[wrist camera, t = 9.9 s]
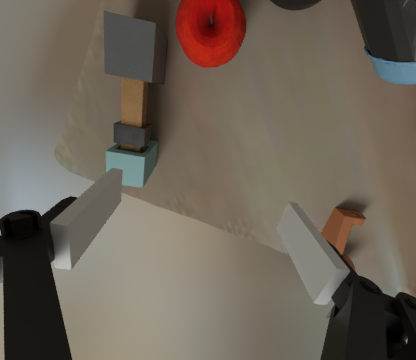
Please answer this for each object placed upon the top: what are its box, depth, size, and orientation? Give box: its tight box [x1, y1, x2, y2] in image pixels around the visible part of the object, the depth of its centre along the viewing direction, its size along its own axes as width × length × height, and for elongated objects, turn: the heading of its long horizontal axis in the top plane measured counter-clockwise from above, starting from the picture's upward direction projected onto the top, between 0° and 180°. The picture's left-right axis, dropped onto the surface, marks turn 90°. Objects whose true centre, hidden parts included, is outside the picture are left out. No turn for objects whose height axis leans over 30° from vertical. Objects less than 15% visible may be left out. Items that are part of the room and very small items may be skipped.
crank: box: [321, 208, 366, 271], centre depth 52 cm, size 20×8×8 cm, turn 168°
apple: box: [176, 0, 246, 67], centre depth 30 cm, size 10×10×12 cm
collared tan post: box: [114, 77, 152, 153], centre depth 34 cm, size 16×5×5 cm, turn 169°
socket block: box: [106, 140, 158, 188], centre depth 38 cm, size 6×6×11 cm
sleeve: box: [104, 11, 168, 84], centre depth 32 cm, size 7×6×10 cm
